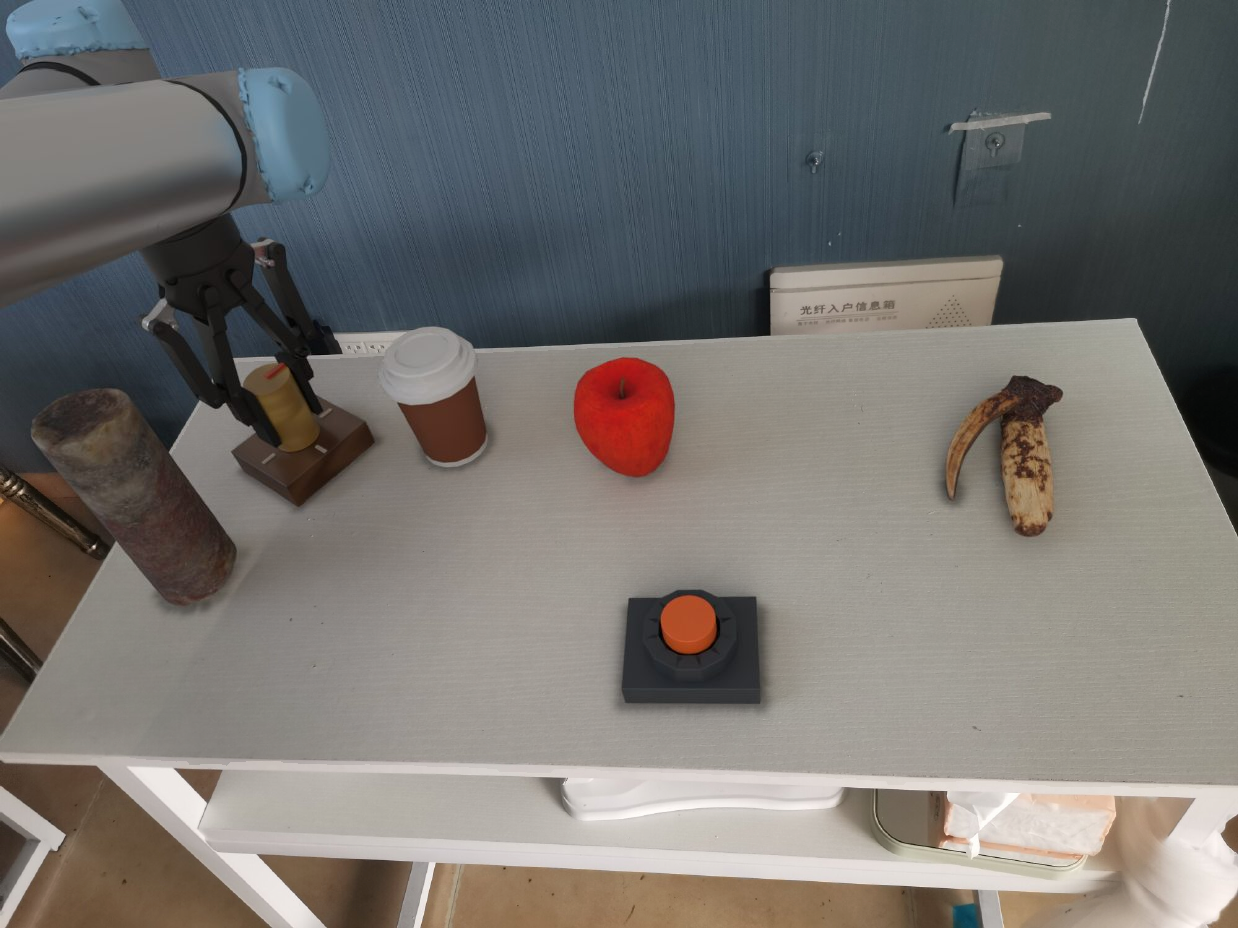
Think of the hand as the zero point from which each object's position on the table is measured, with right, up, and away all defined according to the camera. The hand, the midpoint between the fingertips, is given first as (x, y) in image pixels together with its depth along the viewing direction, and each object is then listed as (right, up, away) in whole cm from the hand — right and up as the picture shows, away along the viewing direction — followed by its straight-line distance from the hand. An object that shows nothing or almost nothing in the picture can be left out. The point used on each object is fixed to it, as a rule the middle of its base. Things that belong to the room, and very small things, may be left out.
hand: (291, 423), depth 86 cm
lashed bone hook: (+65, -4, -9) cm, 66 cm away
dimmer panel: (+1, -3, +3) cm, 5 cm away
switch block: (+37, -19, -17) cm, 45 cm away
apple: (+33, -4, -3) cm, 33 cm away
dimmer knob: (0, -1, +1) cm, 2 cm away
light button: (+37, -16, -20) cm, 45 cm away
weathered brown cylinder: (-6, -14, -5) cm, 16 cm away
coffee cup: (+16, -2, +2) cm, 16 cm away
